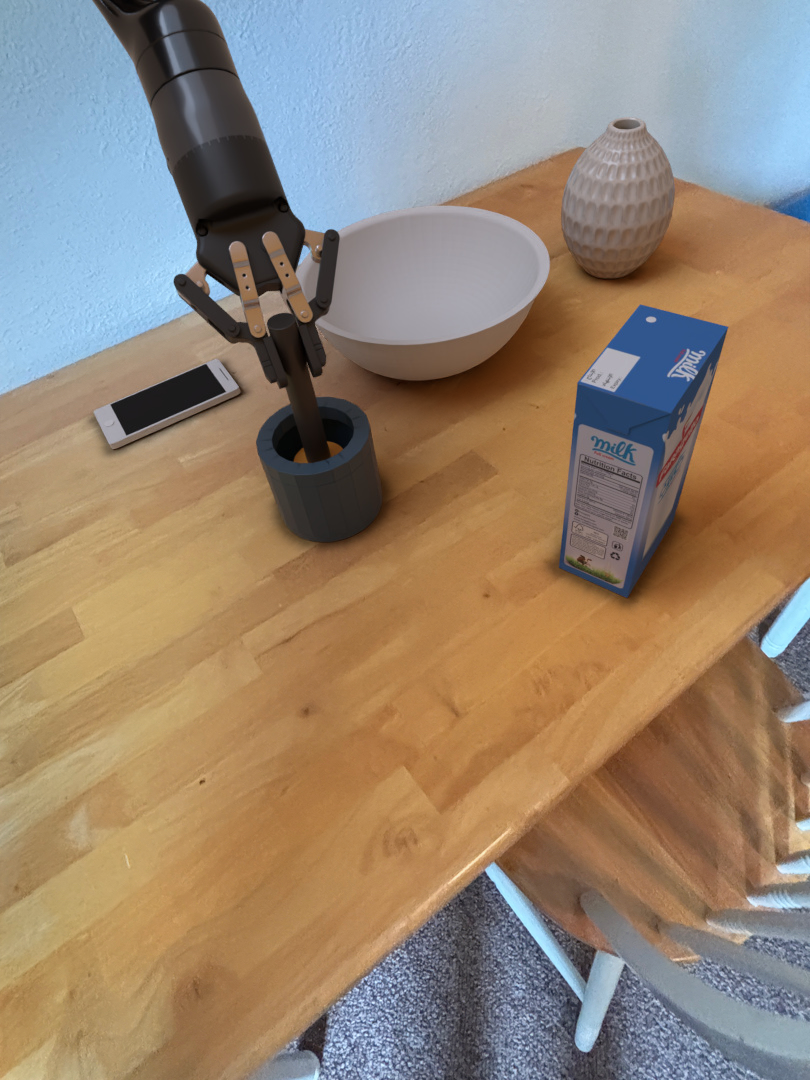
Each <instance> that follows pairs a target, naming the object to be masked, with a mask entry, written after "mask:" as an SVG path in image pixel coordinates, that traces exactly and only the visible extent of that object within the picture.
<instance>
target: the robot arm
mask: <svg viewBox="0 0 810 1080" xmlns="http://www.w3.org/2000/svg"><path fill="white" fill-rule="evenodd" d="M91 1H92V3H93V4H94V5H95V6H96V8H97V9H98V11H99V12H100V14H101V16H102V17H103V18H104V20H105V22H106V23H107V25H108V26H109V27H110V28H111V31H112V32H113V33H114V36H115V37H116V38H117V40H118V41H119V42H120V44H121V45H122V47H123V49H124V50H125V52H126V53H127V55H128V57H129V59H130V60H131V61H132V63H133V65H134V68H135V72H136V74H137V78H138V80H139V82H140V85H141V88H142V90H143V94H144V96H145V99H146V101H147V104H148V106H149V109H150V112H151V115H152V117H153V121H154V124H155V129H156V133H157V137H158V141H159V144H160V147H161V150H162V153H163V155H164V158H165V162H166V166H167V169H168V172H169V174H170V175H171V177H172V179H173V182H174V185H175V188H176V190H177V193H178V195H179V198H180V201H181V203H182V206H183V208H184V211H185V214H186V216H187V219H188V221H189V224H190V227H191V229H192V232H193V235H194V238H195V240H196V248H195V249H196V250H195V258H196V262H195V263H194V264H193V265H192V266H191V267H190V268H189V269H188V270H187V271H186V273H177V274H176V275H174V278H173V280H172V281H173V286H174V288H175V290H176V293H177V295H178V297H179V298H180V299H181V300H183V302H185V304H187V305H188V306H189V307H190V308H191V309H192V310H193V311H194V312H195V313H196V314H198V316H199V317H201V318H202V319H203V320H204V321H205V322H206V323H207V324H208V325H210V327H212V328H213V329H214V330H215V331H216V332H217V333H218V334H219V335H220V336H221V337H222V338H223V339H225V340H226V341H227V342H228V343H229V344H232V345H235V344H238V343H239V344H240V343H242V344H244V343H245V344H249V345H251V346H252V347H253V348H254V350H255V353H256V355H257V358H258V361H259V363H260V366H261V368H262V371H263V375H264V377H265V379H266V380H267V381H268V383H269V384H271V385H272V384H275V383H276V384H277V387H278V389H279V390H282V389H286V388H285V387H288V380H287V377H286V374H285V371H284V369H283V366H282V363H281V361H280V358H279V355H278V352H277V350H276V347H275V344H274V342H273V339H272V336H270V335H269V333H268V331H267V325H266V323H265V319H264V316H263V312H262V308H261V303H260V299H259V297H261V296H262V295H265V293H267V292H278V294H279V295H280V297H281V299H282V301H283V302H284V305H285V306H286V307H287V309H288V311H289V313H290V314H292V315H294V317H295V318H296V322H297V326H298V330H299V334H300V338H301V342H302V346H303V350H304V354H305V357H306V361H307V365H308V369H309V373H310V376H311V378H313V379H315V378H317V377H320V376H323V374H324V370H323V368H324V367H325V366H326V364H327V353H326V351H325V349H324V348H325V347H324V345H323V342H322V339H321V337H320V334H319V332H318V328H317V326H316V325H315V322H316V321H317V320H318V319H319V318H320V317H321V316H324V315H326V314H327V313H328V312H329V308H330V305H331V302H332V295H333V287H334V279H335V272H336V264H337V256H338V248H339V240H340V236H339V233H338V232H337V231H338V230H335V229H333V228H330V229H327V230H326V231H325V232H321V231H318V230H317V231H316V230H311V229H307V228H305V225H304V223H303V222H302V221H301V219H299V218H298V217H297V216H296V214H295V213H294V212H293V210H292V209H291V207H290V206H291V205H290V203H289V200H288V198H287V195H286V193H285V190H284V187H283V183H282V181H281V179H280V176H279V174H278V171H277V168H276V164H275V163H274V159H273V157H272V153H271V151H270V148H269V145H268V143H267V139H266V137H265V134H264V131H263V129H262V126H261V123H260V120H259V117H258V115H257V113H256V110H255V108H254V106H253V104H252V102H251V100H250V97H249V96H248V94H247V92H246V90H245V89H244V86H243V84H242V81H241V79H240V78H241V77H240V76H239V73H238V70H237V68H236V64H235V62H234V59H233V57H232V54H231V51H230V48H229V46H228V45H229V44H228V42H227V39H226V37H225V34H224V32H223V29H222V27H221V24H220V22H219V20H218V18H217V17H216V15H215V13H214V12H213V10H212V9H211V8H210V7H209V6H208V5H207V4H206V3H205V2H203V1H202V0H91ZM304 247H307V248H308V250H309V253H311V259H312V260H313V261H314V262H316V263H320V264H319V272H318V280H317V287H316V295H315V297H314V298H313V299H312V300H311V301H310V302H307V300H306V298H305V296H304V294H303V291H302V288H301V285H300V283H299V281H298V279H297V276H296V273H297V271H298V268H299V263H300V259H301V255H302V252H303V248H304ZM207 276H209V277H210V278H212V279H213V280H214V281H216V282H217V283H219V284H220V285H221V286H223V287H224V288H226V289H227V290H228V291H230V292H231V293H233V294H234V295H236V296H237V297H239V300H240V303H241V307H242V312H243V315H244V318H245V321H244V322H243V321H237V320H235V319H234V318H233V317H232V315H230V314H229V313H228V312H227V311H226V310H225V309H224V308H222V306H220V305H219V304H218V302H216V301H215V300H214V299H213V298H212V297H211V296H210V294H211V288H210V285H209V283H208V281H207V280H206V277H207Z"/></svg>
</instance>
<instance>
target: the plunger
mask: <svg viewBox="0 0 810 1080" xmlns="http://www.w3.org/2000/svg"><path fill="white" fill-rule="evenodd" d="M266 328H267V330H268V335H269V336H272V339H273V342H274V344H275V347H276V350H277V352H278V355H279V358H280V361H281V363H282V366H283V369H284V371H285V374H286V377H287V380H288V387H285V388H284V389H285V391H286V395H287V398H288V401H289V404H290V405H291V408H292V411H293V415H294V418H295V421H296V425H297V428H298V432H299V435H300V438H301V442H302V445H303V448H302V449H301V450H300V451H299V452H298V453H297V454H296V456H295V458H294V462H297V463H315V462H319V461H323V460H326V459H328V458H330V457H332V456H334V455H336V454H338V453H339V452H341V451H342V450H343V448H342V447H341V446H339V445H338V444H336V443H333V442H329V441H327V439H326V435H325V431H324V427H323V423H322V419H321V415H320V411H319V408H318V404H317V400H316V397H317V396H316V393H315V389H314V383H313V381H312V376H311V372H310V369H309V367H308V364H307V361H306V357H305V354H304V350H303V346H302V342H301V338H300V334H299V330H298V326H297V322H296V318H295V317H294V315H292V314H291V313H290V312H279V313H276V314H274V315H271V316H270V317H269V318H268V319H267V321H266Z"/></svg>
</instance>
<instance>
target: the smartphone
mask: <svg viewBox="0 0 810 1080" xmlns="http://www.w3.org/2000/svg"><path fill="white" fill-rule="evenodd" d="M240 394H241V389H240V386H239V384H237V382H236V380H235V379H234V378H233V377H232V375H231V374H230V373H229V372H228V370H227V369H226V367H225V366H224V365H223V363H222V362H221V360H219V359H218V358H214V359H211V360H209V361H207V362H204V363H202V364H200V365H197V366H195V367H193V368H190V369H187V370H186V371H183V372H181V373H178V374H176V375H174V376H171V377H169V378H166V379H163V380H162V381H160V382H157V383H155V384H153V385H150V386H147V387H145V388H143V389H140V390H139V391H136V392H134V393H132V394H129V395H127V396H123V397H122V398H119V399H117V400H115V401H112V402H109V403H107V404H105V405H103V406H100V407H98V408H96V409H95V410H94V411H93V414H94V417H95V418H96V419H95V420H96V421H97V423H98V425H99V427H100V429H101V431H102V433H103V435H104V437H105V439H106V441H107V443H108V444H109V447H110V448H111V449H112V450H115V449H119V448H121V447H123V446H125V445H127V444H130V443H133V442H134V441H137V440H139V439H141V438H143V437H146V436H148V435H150V434H152V433H155V432H157V431H159V430H162V429H164V428H166V427H169V426H170V425H173V424H176V423H177V422H180V421H182V420H184V419H186V418H188V417H191V416H193V415H196V414H198V413H201V412H202V411H204V410H207V409H209V408H212V407H214V406H216V405H218V404H221V403H223V402H226V401H227V400H229V399H232V398H234V397H236V396H238V395H240Z"/></svg>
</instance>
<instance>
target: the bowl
mask: <svg viewBox="0 0 810 1080" xmlns="http://www.w3.org/2000/svg"><path fill="white" fill-rule="evenodd" d="M336 231H337V232H338V233H339V236H340V240H339V248H338V256H337V264H336V272H335V279H334V287H333V295H332V302H331V305H330V308H329V312H328V313H327V314H326V315H324V316H321V317H320V318H319V319H318V320H317V321H316V322H315V326H316V328H317V330H319V332H320V333H321V334H322V336H323V337H324V338H325V339H326V340H327V341H328V343H329V344H330V345H332V346H333V348H335V350H337V351H338V352H339V353H340V354H341V355H343V357H345V358H346V359H348V360H349V361H350V362H352V363H354V364H355V365H356V366H357V365H358V366H359V367H360V368H362V369H365V370H367V371H369V372H372V373H374V374H376V375H380V376H383V377H386V378H391V379H396V380H403V381H430V380H432V381H433V380H437V379H443V378H448V377H452V376H456V375H458V374H461V373H464V372H467V371H468V370H471V369H472V368H474V367H477V366H478V365H479V366H480V364H482V363H484V362H485V361H487V360H488V359H489V358H491V357H492V356H494V355H496V353H497V352H498V351H500V350H501V349H502V348H503V347H504V346H505V345H506V344H507V343H508V342H509V341H510V340H511V339H512V338H513V336H514V335H515V334H516V333H517V332H518V330H519V329H520V327H521V326H522V324H523V323H524V321H525V319H526V318H527V316H528V315H529V313H530V311H531V309H532V306H533V304H534V303H535V300H536V298H537V296H538V295H540V292H541V291H542V289H543V288H544V286H545V284H546V282H547V281H548V277H549V274H550V269H551V260H550V254H549V251H548V248H547V247H546V244H545V243H544V241H543V240H542V238H541V237H540V236H539V235H538V234H536V232H535V231H533V230H532V228H529V226H527V225H525V224H524V223H522V222H520V221H519V220H517V219H514V218H512V217H510V216H507V215H505V214H501V213H498V212H496V211H491V210H487V209H483V208H477V207H470V206H461V205H425V206H423V205H422V206H415V207H406V208H402V209H401V208H400V209H397V210H396V209H395V210H391V211H387V212H383V213H380V214H375V215H372V216H370V217H366V218H363V219H361V220H358V221H356V222H354V223H351V224H349V225H347V226H345V227H342V228H341V229H339V230H336ZM319 264H320V263H316V262H314V261H313V260H312V259H311V253H310V252H309V253H308V254H307V255H306V256H305V257H304V258H303V260H302V261H301V263H300V265H298V267H297V270H296V276H297V279H298V281H299V283H300V285H301V288H302V291H303V294H304V296H305V298H306V300H307V302H310V301H311V300H312V299H313V298H314V297H315V295H316V287H317V280H318V272H319Z"/></svg>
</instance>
